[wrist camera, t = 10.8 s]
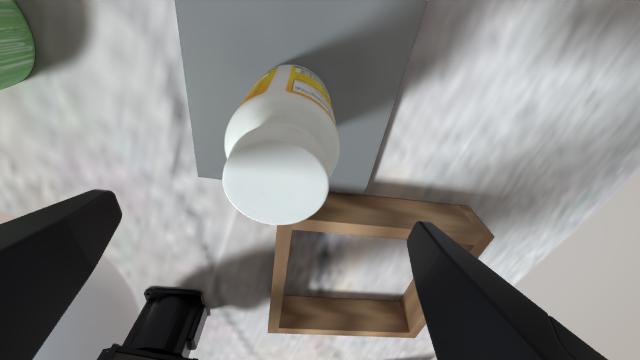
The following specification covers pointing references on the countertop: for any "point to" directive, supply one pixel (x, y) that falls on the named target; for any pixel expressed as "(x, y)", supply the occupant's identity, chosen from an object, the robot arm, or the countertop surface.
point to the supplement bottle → (281, 147)
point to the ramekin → (14, 45)
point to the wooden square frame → (376, 221)
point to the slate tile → (302, 50)
